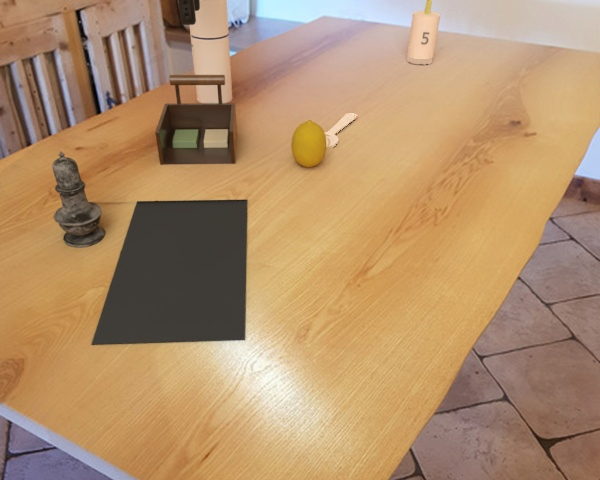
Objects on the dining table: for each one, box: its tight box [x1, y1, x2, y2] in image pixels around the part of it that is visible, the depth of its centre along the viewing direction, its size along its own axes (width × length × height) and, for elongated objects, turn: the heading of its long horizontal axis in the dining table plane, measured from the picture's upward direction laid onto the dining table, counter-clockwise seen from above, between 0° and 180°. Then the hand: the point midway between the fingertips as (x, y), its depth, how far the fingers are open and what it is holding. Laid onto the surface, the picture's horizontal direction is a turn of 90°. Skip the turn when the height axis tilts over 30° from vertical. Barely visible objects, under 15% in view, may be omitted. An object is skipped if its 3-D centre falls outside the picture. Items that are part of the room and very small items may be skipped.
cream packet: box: [204, 129, 229, 148], centre depth 94 cm, size 5×4×1 cm
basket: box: [154, 74, 238, 166], centre depth 90 cm, size 12×12×11 cm
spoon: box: [324, 112, 358, 149], centre depth 100 cm, size 5×18×1 cm, turn 152°
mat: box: [91, 199, 248, 346], centre depth 73 cm, size 40×16×1 cm, turn 4°
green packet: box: [172, 129, 199, 148], centre depth 94 cm, size 5×4×1 cm
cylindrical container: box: [188, 0, 233, 103], centre depth 103 cm, size 7×7×25 cm
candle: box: [406, 0, 441, 59], centre depth 129 cm, size 6×6×15 cm
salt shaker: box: [51, 151, 106, 248], centre depth 69 cm, size 6×6×12 cm
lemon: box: [290, 119, 327, 168], centre depth 86 cm, size 6×6×8 cm
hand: (191, 17), depth 85 cm, fingers open, 8 cm apart
